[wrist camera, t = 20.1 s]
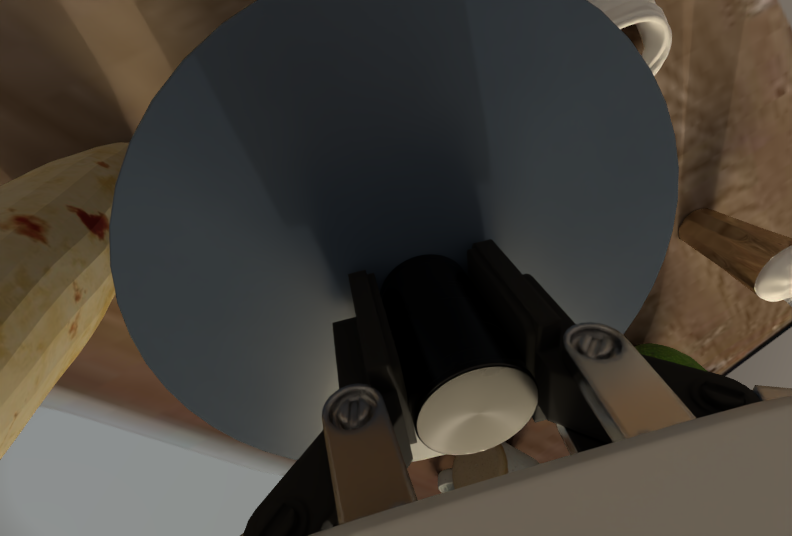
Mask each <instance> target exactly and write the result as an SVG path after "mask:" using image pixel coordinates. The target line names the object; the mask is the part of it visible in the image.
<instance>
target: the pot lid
mask: <svg viewBox="0 0 792 536" xmlns="http://www.w3.org/2000/svg"><path fill="white" fill-rule="evenodd" d="M678 173H679V167H678V158H677V149H676V140H675V134H674V130H673V126H672V123H671V119H670V115H669V112H668V108H667V104H666V101H665V99H664V97H663V95H662V93H661V91H660V88H659V86H658V84H657V82H656V80H655V77H654V75H653V73H652V71H651V69H650V68H649V66H648V65H647V63H646V62H645V60H644V59H643V58H642V56H641V55H640V53H639V52H638V50H637V49H636V47H635V46H634V45H633V43H632V42H631V40H630V39H629V38H628V37H627V36H626V35H625V34H624V33H623V32H622V31H621V30H620V29H619V28H618V27H617V26H616V25H615V24H614V23H613V22H612V21H611V20H610V19H609V18H608V17H607V16H606V15H605V14H604V13H603V11H602V10H600V9H599V8H598V7H596V6H595V5H593V4H592V3H590V2H589V1H587V0H257V1H255V2H254V3H252V4H251V5H249V6H248V7H246V8H245V9H243V10H242V11H240V12H239V13H237V14H235V15H234V16H232V17H231V18H229V19H228V20H226V21H225V22H223V23H222V24H221V25H220V26H219V27H218V28H217V29H216V30H214V31H213V32H212V33H211V34H210V35H209V36H208V37H207V38H206V39H205V40H204V41H203V42H202V43H200V44H199V45H198V46H197V47H196V48H195V49H194V50H193V51H192V52H191V53H190V54H189V55H187V56H186V57H185V58H184V59H183V60H182V62H181V63H180V64H179V66H178V67H177V68H176V69H175V71H174V72H173V73H172V75H171V76H170V77H169V79H168V80H167V81H166V82H165V84H164V85H163V86H162V88H161V89H160V90H159V91H158V93H157V94H156V95H155V97H154V98H153V99H152V101H151V103H150V105H149V106H148V108H147V110H146V112H145V114H144V116H143V118H142V120H141V121H140V123H139V125H138V127H137V129H136V131H135V133H134V134H133V136H132V138H131V140H130V142H129V145H128V148H127V151H126V154H125V157H124V160H123V163H122V166H121V169H120V172H119V175H118V178H117V181H116V184H115V190H114V197H113V203H112V210H111V217H110V223H109V244H110V268H111V273H112V278H113V283H114V288H115V293H116V298H117V303H118V305H119V308H120V311H121V313H122V316H123V319H124V321H125V324H126V327H127V329H128V332H129V334H130V336H131V338H132V340H133V341H134V343H135V345H136V347H137V348H138V350H139V352H140V354H141V355H142V357H143V359H144V361H145V362H146V364H147V365H148V366H149V368H150V369H151V370H152V371H153V373H154V374H155V375H156V376H157V378H158V379H159V380H160V381H161V383H162V384H163V385H164V386H165V388H166V389H167V390H168V391H169V392H170V393H172V394H173V395H174V396H175V397H176V398H177V399H178V400H179V401H180V402H181V403H182V404H183V405H184V406H185V407H186V408H187V409H189V410H190V411H191V412H193V413H194V414H196V415H197V416H198V417H200V418H201V419H203V420H204V421H205V422H207V423H208V424H209V425H211V426H212V427H214V428H216V429H218V430H220V431H221V432H223V433H225V434H227V435H229V436H231V437H232V438H234V439H236V440H238V441H240V442H243V443H245V444H248V445H250V446H253V447H255V448H258V449H260V450H262V451H265V452H269V453H272V454H276V455H279V456H283V457H286V458H289V459H294V460H298V459H299V458H300V457H301V455H302V454H303V453H304V452H305V451H306V449H307V448H308V447H309V446H310V445H311V444H312V442H313V441H314V440H315V439H316V438H317V436H318V435H319V434H320V433H321V432H322V430H323V424H322V409H323V407H324V404H325V402H326V401H327V400H328V398H329V397H330V396H331V395H332V394H333V393H334V392H336V391H337V390H338V389H339V383H338V373H337V364H336V355H335V346H334V336H333V327H332V324H333V323H334V322H338V321H341V320H345V319H349V318H353V317H356V314H355V309H354V304H353V298H352V293H351V288H350V283H349V277H348V274H350V273H354V272H358V271H362V270H366V273H367V274H370V273H374V275H375V278H376V282H377V285H378V289H379V292H380V295H381V299H382V302H383V306H384V309H385V312H386V316H387V319H388V322H389V326H390V329H391V333H392V336H393V339H394V343H395V346H396V350H397V353H398V357H399V361H400V364H401V369H402V373H403V378H404V382H405V387H406V392H407V396H408V405H409V410H410V414H411V418H412V421H413V425H414V429H415V434H416V438H417V443H415V444H411V445H410V447H411V451H412V455H413V460H412V462H413V461H419V460H424V459H428V458H432V457H437V456H441V455H445V454H448V455H467V454H473V453H477V452H481V451H484V450H487V449H490V448H492V447H495V446H497V445H499V444H501V443H503V442H505V441H506V440H508V439H509V438H511V437H512V436H514V435H515V434H516V433H517V432H519V431H520V430H521V429H522V428H523V427H524V426H525V425H526V424H527V423H528V421H529V420H530V419H531V417H532V416H533V414H534V412H535V410H536V408H537V405H538V401H539V388H538V384H537V382H536V380H535V378H534V377H533V375H532V374H531V372H530V371H529V369H528V367H527V366H526V364H525V363H524V361H523V360H522V358H521V357H520V355H519V354H518V352H517V351H516V349H515V348H514V346H513V345H512V343H511V342H510V340H509V338H508V337H507V335H506V334H505V332H504V331H503V329H502V328H501V326H500V325H499V323H498V322H497V320H496V319H495V317H494V316H493V314H492V313H491V311H490V309H489V308H488V306H487V305H486V303H485V302H484V300H483V299H482V297H481V296H480V294H479V293H478V291H477V290H476V288H475V287H474V285H473V284H472V282H471V281H470V279H469V275H468V262H467V250H468V249H472V244H473V243H477V242H481V241H485V240H489V239H492V240H493V241H494V242H495V243H496V245H497V246H498V247H499V248H500V249H501V250H502V251H503V253H504V254H505V255H506V256H507V257H508V258H509V259H510V261H511V262H512V263H513V264H514V265H515V266H516V267H517V269H518V270H519V271H520V272H521V273H522V274H530V275H531V276H533V277H534V278H535V280H536V281H537V282H538V283H539V284H540V285H541V286H542V287H543V288H544V290H545V291H546V292H547V293H548V294H549V295H550V296H551V297H552V298H553V299H554V301H555V302H556V303H557V304H558V305H559V306H560V307H561V308H562V309H563V311H564V312H565V313H566V314H567V315H568V316H569V317H570V318H571V319H572V320H573V322H574V323H575V324H579V323H586V322H593V323H601V324H604V325H608V326H610V327H612V328H614V329H616V330H618V331H619V332H620V333H622V334H624V333H625V331H626V330H627V328H628V327H629V325H630V324H631V323H632V321H633V320H634V318H635V317H636V315H637V314H638V312H639V311H640V309H641V307H642V305H643V303H644V301H645V300H646V298H647V296H648V294H649V292H650V291H651V289H652V287H653V285H654V282H655V280H656V278H657V275H658V273H659V270H660V268H661V266H662V263H663V261H664V258H665V255H666V251H667V248H668V245H669V241H670V238H671V234H672V231H673V225H674V219H675V213H676V207H677V201H678Z"/></svg>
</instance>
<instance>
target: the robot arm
mask: <svg viewBox="0 0 792 536" xmlns="http://www.w3.org/2000/svg"><path fill="white" fill-rule="evenodd" d="M467 262H468V275H469V279H470V281H471V282H472V284H473V285H474V287H475V288H476V290H477V291H478V293H479V294H480V296H481V297H482V299H483V300H484V302H485V303H486V305H487V306H488V308H489V309H490V311H491V313H492V314H493V316H494V317H495V319H496V320H497V322H498V323H499V325H500V326H501V328H502V329H503V331H504V332H505V334H506V335H507V337H508V338H509V340H510V342H511V343H512V345H513V346H514V348H515V349H516V351H517V352H518V354H519V355H520V357H521V358H522V360H523V361H524V363H525V364H526V366H527V367H528V369H529V371H530V372H531V374H532V375H533V377H534V378H535V380H536V382H537V384H538V388H539V401H538V405H537V408H536V410H535V412H534V414H533V416H532V418H533V420H534V422H535V423H536V422H539V421H543V420H546V419H547V420H548V421H551V422H553V423H556V425H557V428H558V431H559V433H560V435H561V437H562V439H563V441H564V443H565V445H566V447H567V449H568V451H569V453H570V455H569V456H566V457H562V458H559V459H556V460H552V461H549V462H545V463H542V464H539V465H535V466H532V467H528V468H525V469H522V470H518V471H515V472H512V473H508V474H505V475H501V476H498V477H495V478H491V479H488V480H485V481H481V482H478V483H475V484H471V485H468V486H465V487H461V488H458V489H455V490H451V491H448V492H445V493H441V494H438V495H435V496H431V497H428V498H425V499H421V500H417V497H416V494H415V491H414V488H413V485H412V482H411V479H410V476H409V473H408V470H407V468H408V466H409V465H410V463H411V462H412V460H413V455H412V451H411V447H410V445H411V444H415V443H417V438H416V434H415V429H414V425H413V421H412V418H411V414H410V410H409V405H408V396H407V392H406V387H405V382H404V378H403V373H402V369H401V364H400V361H399V357H398V353H397V350H396V346H395V343H394V339H393V336H392V333H391V329H390V326H389V322H388V319H387V316H386V312H385V309H384V306H383V302H382V299H381V295H380V292H379V289H378V285H377V282H376V278H375V275H374V273H370V274H367V273H366V270H362V271H358V272H354V273H350V274H348V277H349V283H350V288H351V293H352V298H353V304H354V309H355V314H356V317H353V318H349V319H345V320H341V321H338V322H334V323H333V324H332V327H333V336H334V346H335V355H336V364H337V373H338V383H339V389H338V390H337V391H336V392H334V393H333V394H332V395H331V396H330V397H329V398H328V400H327V401H326V402H325V404H324V407H323V409H322V424H323V430H322V432H321V433H320V434H319V435H318V436H317V438H316V439H315V440H314V441H313V442H312V444H311V445H310V446H309V447H308V448H307V449H306V451H305V452H304V453H303V454H302V455H301V457H300V458H299V459H298V460H297V461H296V462H295V464H294V465H293V466H292V467H291V468H290V470H289V471H288V472H287V473H286V474H285V475H284V477H283V478H282V479H281V480H280V481H279V483H278V484H277V485H276V486H275V487H274V489H273V490H272V491H271V492H270V493H269V494H268V496H267V497H266V498H265V499H264V500H263V502H262V503H261V504H260V505H259V506H258V507H257V509H256V510H255V511H254V513H253V514H252V516H251V517H250V519H249V521H248V523H247V526H246V528H245V531H244V533H243V534H242V535H240V536H792V388H780V387H770V386H758V385H755V387H754V388H753V390H750V389H749V388H748V387H747V386H745V385H743V384H741V383H740V382H738V381H736V380H734V379H731V378H728V377H725V376H723V375H719V374H715V373H711V372H708V371H704V370H700V369H696V368H692V367H689V366H685V365H681V364H677V363H674V362H670V361H666V360H662V359H658V358H655V357H651V356H647V355H643V354H640V353H639V352H638V351H637V350H636V348H635V347H634V346H633V345H632V344H631V343H630V342H629V340H628V339H627V338H626V337H625V336H624V335H623V334H622V333H620V332H619V331H618V330H616V329H614V328H612V327H610V326H608V325H604V324H601V323H593V322H586V323H579V324H575V323H574V322H573V320H572V319H571V318H570V317H569V316H568V315H567V314H566V313H565V312H564V311H563V309H562V308H561V307H560V306H559V305H558V304H557V303H556V302H555V301H554V299H553V298H552V297H551V296H550V295H549V294H548V293H547V292H546V291H545V290H544V288H543V287H542V286H541V285H540V284H539V283H538V282H537V281H536V280H535V278H534V277H533V276H531V275H530V274H522V273H521V272H520V271H519V270H518V269H517V267H516V266H515V265H514V264H513V263H512V262H511V261H510V259H509V258H508V257H507V256H506V255H505V254H504V253H503V251H502V250H501V249H500V248H499V247H498V246H497V245H496V243H495V242H494V241H493V240H492V239H489V240H485V241H481V242H477V243H473V244H472V249H468V250H467Z"/></svg>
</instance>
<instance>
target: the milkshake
mask: <svg viewBox="0 0 792 536" xmlns="http://www.w3.org/2000/svg"><path fill="white" fill-rule="evenodd" d="M679 238H680V239H681V240H682V241H684V242H685V243H687V244H688V245H689V246H691V247H692V248H694V249H695V250H697V251H698V252H699V253H701V254H702V255H704V256H705V257H707V258H708V259H710V260H711V261H712V262H714V263H715V264H717V265H718V266H719V267H721V268H722V269H724V270H725V271H726V272H727V273H729V274H730V275H731V276H732V277H734V278H735V279H736V280H738V281H739V282H740V283H742V284H743V285H744V286H746V287H747V288H748V289H750V290H751V291H752V292H754V293H755V294H756V295H758V296H759V297H760V298H762V299H764V300H767V301H780V300H785V301H786V302H787V303H788V304H789V305H790V306H791V307H792V298H791V297H792V238H790V237H787V236H784V235H781V234H778V233H775V232H772V231H769V230H766V229H763V228H760V227H758V226H755V225H752V224H749V223H747V222H744V221H741V220H739V219H736V218H733V217H730V216H728V215H725V214H722V213H719V212H717V211H714V210H711V209H708V208H703V209H698V210H695V211H694V212H692V213H691V214H690V215H688V216H687V217H686V218H685V219H684V221H683V222H682V224H681V226H680V227H679Z"/></svg>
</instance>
